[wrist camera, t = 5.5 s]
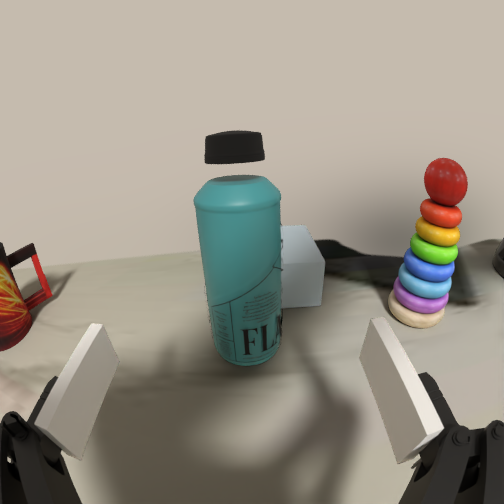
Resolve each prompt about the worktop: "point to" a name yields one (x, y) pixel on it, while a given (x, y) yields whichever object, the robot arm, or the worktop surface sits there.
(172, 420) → the worktop surface
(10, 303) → the mug
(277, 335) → the beverage bottle
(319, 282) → the block
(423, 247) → the stacking toy
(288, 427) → the worktop surface
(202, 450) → the worktop surface
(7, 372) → the worktop surface
